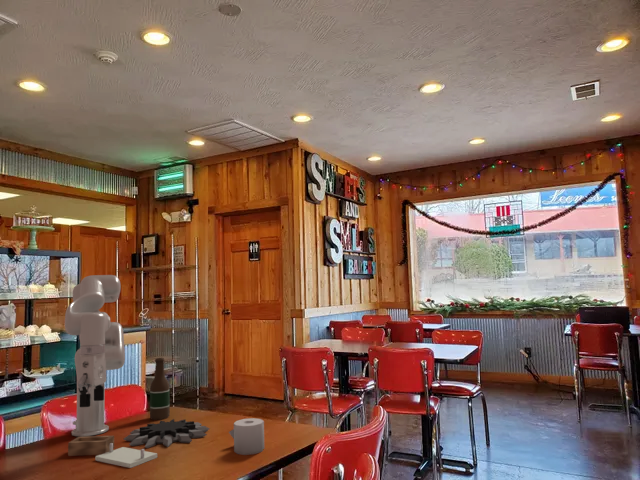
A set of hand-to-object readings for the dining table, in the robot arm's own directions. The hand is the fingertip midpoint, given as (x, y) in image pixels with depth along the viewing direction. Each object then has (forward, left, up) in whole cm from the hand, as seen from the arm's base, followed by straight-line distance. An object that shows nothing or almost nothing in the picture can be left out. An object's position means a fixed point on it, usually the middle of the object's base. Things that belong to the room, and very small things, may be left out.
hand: (92, 403), depth 163 cm
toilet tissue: (+45, +23, -16) cm, 53 cm away
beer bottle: (-14, +41, -16) cm, 46 cm away
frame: (0, 0, -15) cm, 15 cm away
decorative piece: (+10, +23, -16) cm, 30 cm away
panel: (+17, 0, -15) cm, 23 cm away
